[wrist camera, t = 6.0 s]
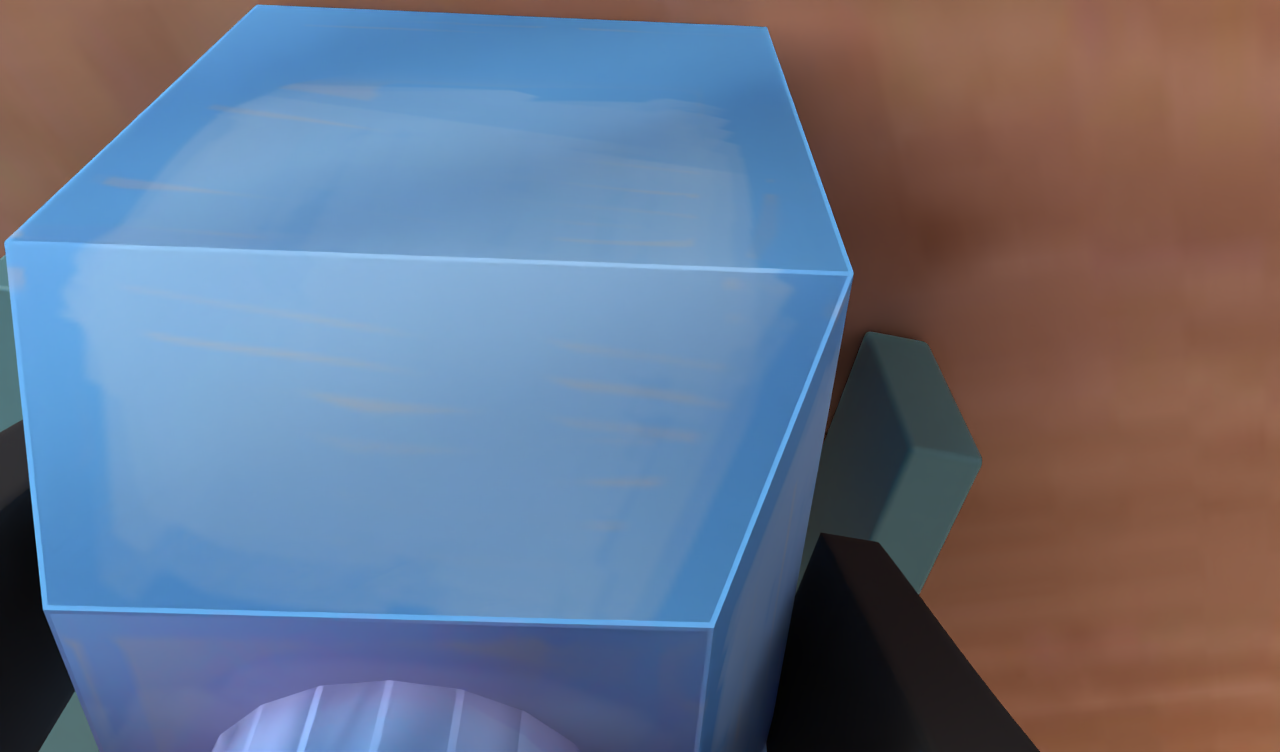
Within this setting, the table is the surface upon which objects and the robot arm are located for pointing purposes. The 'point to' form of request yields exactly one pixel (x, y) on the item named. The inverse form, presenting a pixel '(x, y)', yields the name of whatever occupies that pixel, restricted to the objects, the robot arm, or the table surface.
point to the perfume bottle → (433, 389)
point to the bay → (846, 479)
